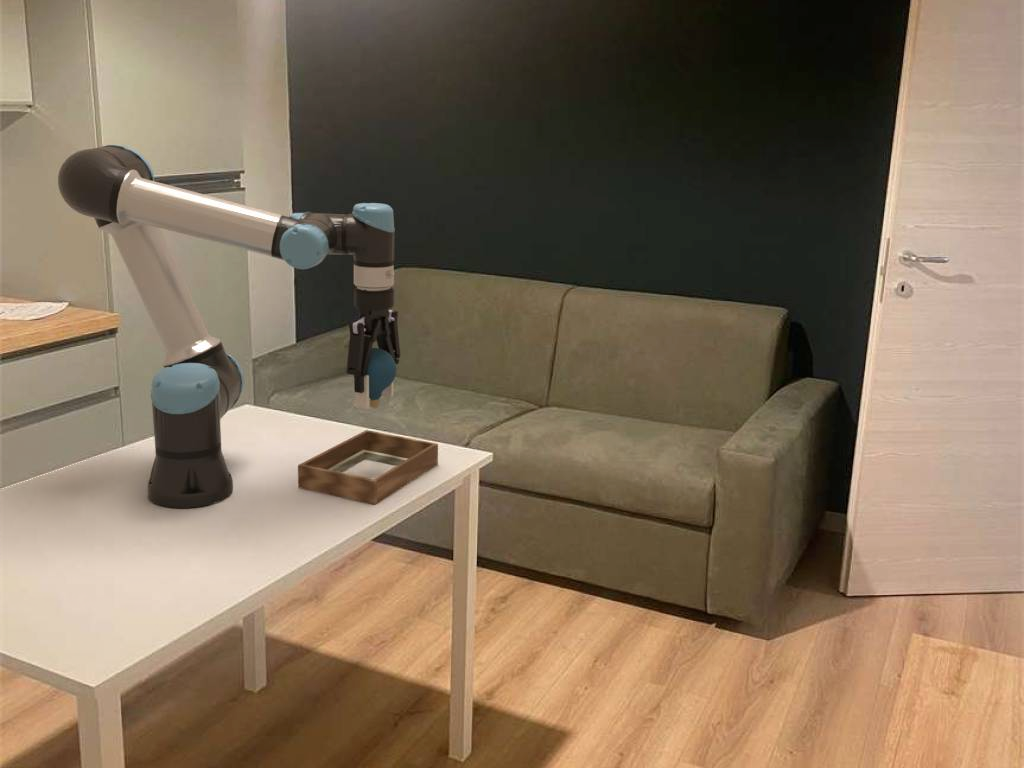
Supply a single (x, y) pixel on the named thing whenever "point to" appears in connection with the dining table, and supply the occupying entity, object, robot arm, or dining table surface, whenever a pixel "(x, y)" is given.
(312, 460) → the wooden frame
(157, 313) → the robot arm
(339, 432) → the dining table surface
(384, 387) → the teal bulb shape
